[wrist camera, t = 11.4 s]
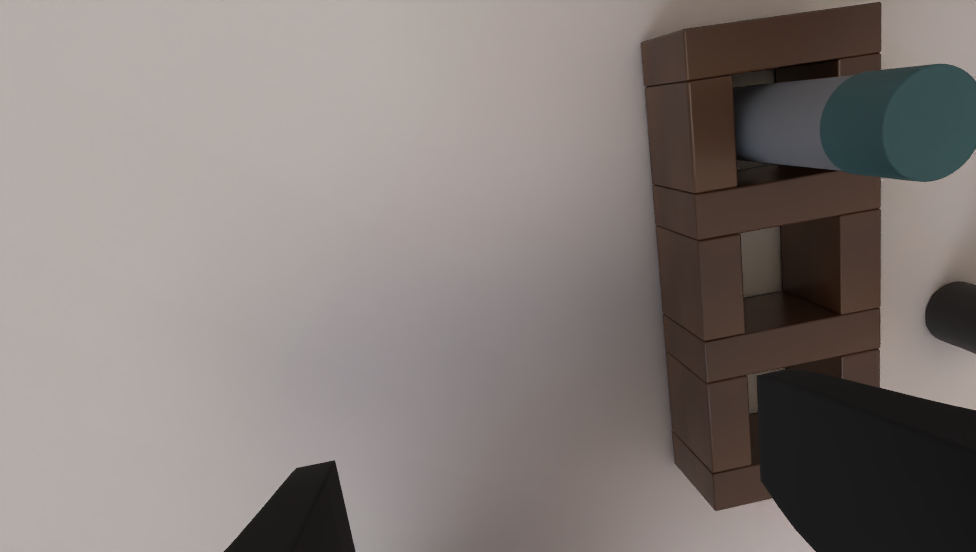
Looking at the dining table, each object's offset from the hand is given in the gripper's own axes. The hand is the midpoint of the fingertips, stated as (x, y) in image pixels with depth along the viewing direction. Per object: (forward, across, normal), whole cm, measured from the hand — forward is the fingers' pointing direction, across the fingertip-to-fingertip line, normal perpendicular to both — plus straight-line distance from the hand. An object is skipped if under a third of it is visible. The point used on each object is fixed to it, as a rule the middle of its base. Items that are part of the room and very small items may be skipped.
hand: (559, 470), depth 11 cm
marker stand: (+10, -9, 0) cm, 14 cm away
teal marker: (+10, -9, -4) cm, 14 cm away
